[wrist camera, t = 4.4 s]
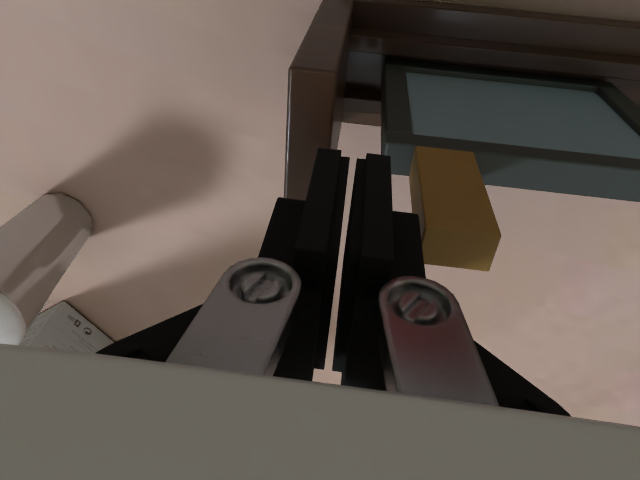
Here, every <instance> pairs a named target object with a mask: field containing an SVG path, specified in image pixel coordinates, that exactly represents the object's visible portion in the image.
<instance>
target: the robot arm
mask: <svg viewBox="0 0 640 480" xmlns="http://www.w3.org/2000/svg"><path fill="white" fill-rule="evenodd" d="M349 160H350V157H341V150H335V149H327V148H318V150H317V155H316V159H315V163H314V167H313V171H312V176H311V180H310V184H309V188H308V192H307V197H306V200H297V199H289V198H281V197H279V198H278V199H277V201H276V204H275V207H274V210H273V213H272V216H271V219H270V222H269V225H268V228H267V231H266V235H265V238H264V241H263V244H262V247H261V250H260V253H259V256H258V258H250V259H246V260H243V261H239V262H238V263H236V264H234V265H232V266H230V267H229V268H228V269H227V270H226V271H225V272H224V274H223V275H222V277H221V278H220V280H219V281H218V283H217V284H216V286H215V287H214V289H213V290H212V292H211V293H210V295H209V296H208V298H207V299H206V301H205V302H204V304H202V305H199V306H197V307H195V308H193V309H190V310H188V311H186V312H183V313H181V314H179V315H176V316H174V317H172V318H170V319H167V320H165V321H163V322H160V323H158V324H156V325H154V326H151V327H149V328H147V329H144V330H142V331H140V332H137V333H135V334H133V335H131V336H128V337H126V338H124V339H121V340H119V341H117V342H114V343H112V344H110V345H108V346H106V347H105V348H103V349H101V350H99V351H97V352H96V353H95V354H94V353H86V352H78V351H70V350H62V349H53V348H43V347H32V346H21V345H10V344H0V480H640V427H638V426H632V425H626V424H619V423H612V422H604V421H597V420H590V419H583V418H576V417H571V416H570V414H569V413H568V412H567V411H565V410H564V409H563V408H562V407H561V406H560V405H559V404H558V403H556V402H555V401H554V400H552V399H551V398H550V397H548V396H547V395H546V394H545V393H543V392H542V391H541V390H539V389H538V388H537V387H535V386H534V385H533V384H531V383H530V382H529V381H527V380H526V379H525V378H523V377H522V376H521V375H519V374H518V373H517V372H515V371H514V370H513V369H511V368H510V367H509V366H507V365H506V364H505V363H503V362H502V361H501V360H499V359H498V358H497V357H495V356H494V355H493V354H491V353H490V352H489V351H487V350H486V349H485V348H483V347H482V346H481V345H479V344H478V343H477V342H475V341H474V340H473V338H472V336H471V333H470V330H469V328H468V325H467V323H466V320H465V318H464V315H463V313H462V310H461V308H460V305H459V303H458V301H457V300H456V298H455V296H454V295H453V294H452V293H451V292H450V291H449V290H448V289H447V288H446V287H444V286H442V285H440V284H439V283H437V282H435V281H432V280H429V279H426V276H425V267H424V258H423V250H422V241H421V232H420V223H419V216H418V214H414V213H406V212H397V211H392V185H391V157H390V156H387V155H378V154H369V153H367V155H366V159H358V158H357V162H356V169H355V177H354V184H353V191H352V199H351V206H350V214H349V221H348V228H347V236H346V243H345V251H344V259H343V268H342V278H341V288H340V298H339V307H338V317H337V327H336V337H335V347H334V357H333V367H332V371H338V372H342V378H341V385H336V384H328V383H321V382H313V381H312V378H313V371H314V368H315V369H323V370H324V366H325V358H326V350H327V342H328V334H329V326H330V318H331V311H332V303H333V295H334V287H335V279H336V271H337V263H338V255H339V247H340V238H341V229H342V221H343V212H344V203H345V194H346V186H347V177H348V168H349Z"/></svg>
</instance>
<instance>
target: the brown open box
mask: <svg viewBox="0 0 640 480" xmlns="http://www.w3.org/2000/svg"><path fill="white" fill-rule="evenodd" d="M385 59H393V60H403V61H412V62H422V63H431V64H441V65H451V66H460V67H470V68H480V69H489V70H499V71H508V72H518V73H528V74H537V75H547V76H556V77H566V78H576V79H585V80H595V81H605V82H611V83H612V84H613V85H615V86H616V87H617V88H618V89H619V90H620V91H621V92H622V93H623V94H625V95H626V96H627V97H628V98H629V99H630V100H631V101H633V102H634V103H635V104H636V105H637V106H638V107H639V108H640V22H630V21H620V20H610V19H600V18H590V17H580V16H570V15H560V14H550V13H539V12H529V11H519V10H509V9H499V8H489V7H479V6H469V5H459V4H449V3H439V2H429V1H419V0H323V1H322V3H321V5H320V7H319V9H318V11H317V13H316V15H315V17H314V19H313V21H312V23H311V25H310V27H309V29H308V31H307V33H306V35H305V37H304V39H303V41H302V43H301V45H300V47H299V49H298V51H297V53H296V55H295V57H294V59H293V61H292V63H291V65H290V67H289V71H288V98H287V126H286V154H285V181H284V198H289V199H297V200H306V197H307V192H308V188H309V184H310V180H311V176H312V171H313V167H314V163H315V159H316V155H317V150H318V148H327V149H335V150H337V147H338V141H339V135H340V129H341V123H342V122H345V123H354V124H363V125H373V126H381V80H382V73H383V66H384V60H385Z"/></svg>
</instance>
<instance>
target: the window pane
mask: <svg viewBox="0 0 640 480" xmlns="http://www.w3.org/2000/svg"><path fill="white" fill-rule="evenodd" d="M381 155H387V156H390V157H391V174H396V175H405V176H409V182H410V193H411V204H412V213H414V214H418V216H419V223H420V232H421V241H422V250H423V258H424V264H431V265H439V266H447V267H456V268H464V269H473V270H481V271H489V269H490V267H491V264H492V261H493V258H494V255H495V252H496V250H497V247H498V244H499V241H500V238H501V233H500V230H499V227H498V224H497V221H496V218H495V215H494V212H493V209H492V206H491V203H490V200H489V197H488V194H487V191H486V188H485V185H493V186H502V187H511V188H520V189H529V190H538V191H547V192H555V193H564V194H573V195H582V196H591V197H600V198H609V199H617V200H626V201H635V202H640V108H639V107H638V106H637V105H636V104H635V103H634V102H633V101H631V100H630V99H629V98H628V97H627V96H626V95H625V94H623V93H622V92H621V91H620V90H619V89H618V88H617V87H616V86H615V85H613V84H612V83H611V82H605V81H595V80H585V79H576V78H566V77H556V76H547V75H537V74H528V73H518V72H508V71H499V70H489V69H480V68H470V67H460V66H451V65H441V64H431V63H422V62H412V61H403V60H393V59H385V60H384V66H383V73H382V80H381Z"/></svg>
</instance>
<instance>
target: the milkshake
mask: <svg viewBox="0 0 640 480" xmlns="http://www.w3.org/2000/svg"><path fill="white" fill-rule="evenodd" d="M92 231H93V229H92V220H91V215H90V214H89V213H88V211H87V210H86V209H85V208H84V207H83V206H82V204H81V203H80V202H79V201H77V200H75V199H73V198H71V197H68V196H66V195H64V194H62V193H56V194H44V195H42V196H41V197H40V198H38V199H37V200H36V201H34V202H33V203H32V204H30V205H29V206H28V207H26V208H25V209H24V210H22V211H21V212H20V213H18V214H17V215H16V216H14V217H13V218H12V219H10V220H9V221H8V222H6V223H5V224H4V225H2V226H1V227H0V344H10V345H19V344H20V343H21V342H22V340H23V339H24V337H25V335H26V334H27V332H28V331H29V329H30V327H31V326H32V324H33V322H34V321H35V319H36V318H37V316H38V314H39V313H40V311H41V309H42V308H43V306H44V304H45V303H46V301H47V300H48V298H49V296H50V295H51V293H52V291H53V290H54V288H55V287H56V285H57V284H58V282H59V281H60V279H61V278H62V276H63V275H64V273H65V272H66V270H67V269H68V267H69V266H70V264H71V263H72V261H73V260H74V258H75V257H76V255H77V254H78V252H79V251H80V249H81V248H82V246H83V245H84V243H85V242H86V240H87V239H88V237H89V236H90V234H91V233H92Z"/></svg>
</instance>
